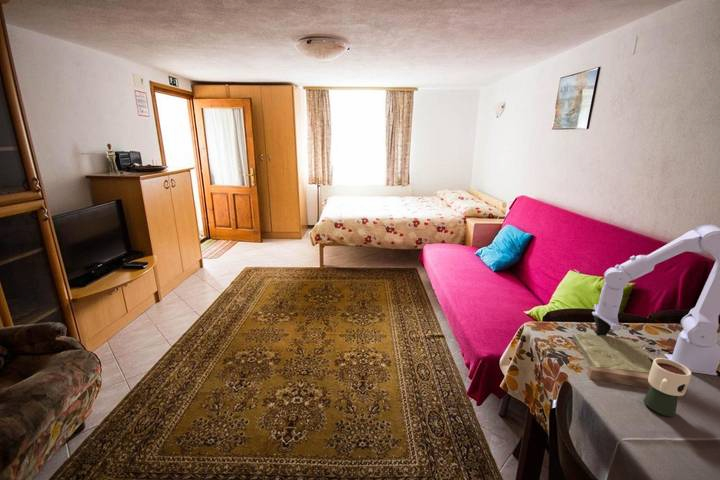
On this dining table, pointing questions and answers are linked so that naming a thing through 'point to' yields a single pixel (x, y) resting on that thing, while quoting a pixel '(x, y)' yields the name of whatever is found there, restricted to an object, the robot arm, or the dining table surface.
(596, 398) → the dining table surface
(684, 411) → the dining table surface
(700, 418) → the dining table surface
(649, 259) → the robot arm
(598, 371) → the rail
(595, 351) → the decorative tile
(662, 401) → the character mug
